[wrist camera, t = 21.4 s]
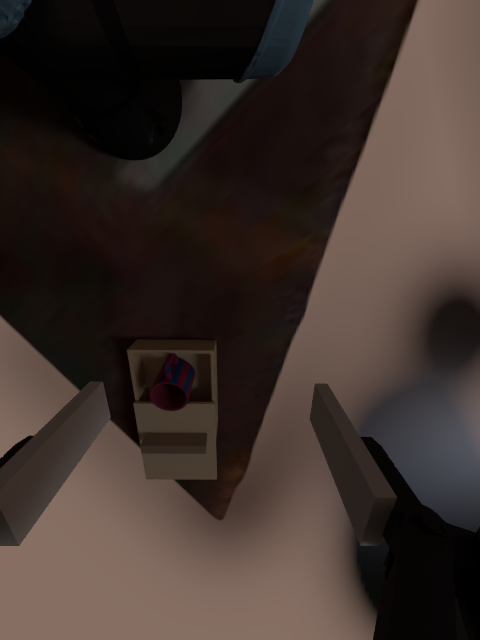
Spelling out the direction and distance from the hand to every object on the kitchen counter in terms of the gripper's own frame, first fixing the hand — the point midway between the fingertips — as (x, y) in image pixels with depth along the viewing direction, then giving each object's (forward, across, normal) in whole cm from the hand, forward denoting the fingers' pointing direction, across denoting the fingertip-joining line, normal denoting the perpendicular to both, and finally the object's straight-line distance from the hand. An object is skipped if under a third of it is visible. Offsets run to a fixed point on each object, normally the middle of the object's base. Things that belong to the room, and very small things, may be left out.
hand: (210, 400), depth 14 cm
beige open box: (+29, -10, -19) cm, 36 cm away
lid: (+24, -10, -30) cm, 39 cm away
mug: (+28, -10, -14) cm, 33 cm away
